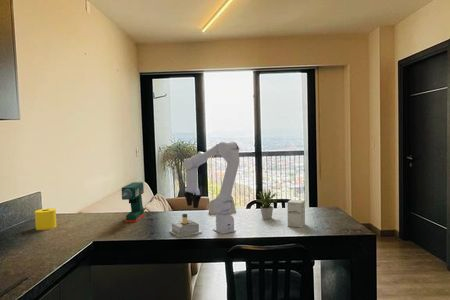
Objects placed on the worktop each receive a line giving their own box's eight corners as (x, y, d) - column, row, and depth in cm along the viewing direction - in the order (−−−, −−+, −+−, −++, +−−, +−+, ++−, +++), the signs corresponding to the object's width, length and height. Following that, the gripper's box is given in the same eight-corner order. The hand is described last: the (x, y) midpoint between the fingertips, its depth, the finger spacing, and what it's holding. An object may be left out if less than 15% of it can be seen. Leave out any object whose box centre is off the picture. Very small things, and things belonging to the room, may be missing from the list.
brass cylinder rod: (188, 230, 171) (188, 213, 171) (186, 231, 169) (185, 215, 169) (184, 229, 172) (183, 213, 172) (182, 230, 170) (181, 214, 170)
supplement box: (287, 226, 176) (286, 201, 175) (291, 223, 183) (291, 199, 182) (301, 227, 173) (301, 202, 172) (305, 224, 179) (305, 199, 179)
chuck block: (201, 233, 168) (201, 224, 168) (178, 237, 162) (178, 228, 162) (191, 227, 179) (191, 219, 179) (169, 231, 173) (169, 222, 173)
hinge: (209, 214, 207) (208, 198, 210) (208, 215, 212) (207, 199, 214) (236, 212, 210) (235, 196, 213) (235, 213, 215) (233, 197, 218)
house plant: (280, 221, 185) (279, 191, 185) (254, 221, 187) (253, 191, 187) (280, 215, 199) (279, 187, 199) (256, 215, 201) (255, 187, 201)
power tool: (130, 228, 182) (128, 190, 181) (117, 228, 182) (115, 190, 181) (145, 214, 213) (144, 182, 213) (134, 214, 214) (133, 182, 213)
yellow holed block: (47, 230, 183) (46, 212, 183) (31, 229, 185) (30, 212, 185) (60, 225, 193) (59, 208, 193) (44, 224, 195) (43, 208, 195)
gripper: (204, 181, 178) (205, 208, 179) (192, 179, 191) (193, 203, 192) (192, 183, 175) (193, 209, 175) (181, 180, 187) (181, 205, 188)
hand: (192, 206), depth 183 cm, fingers open, 7 cm apart
